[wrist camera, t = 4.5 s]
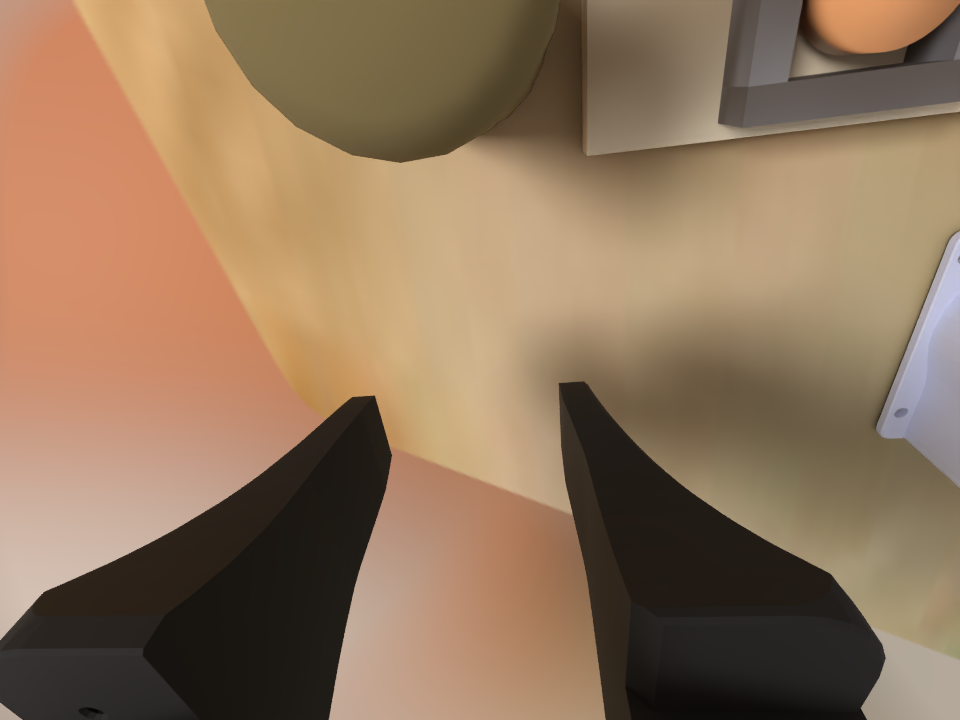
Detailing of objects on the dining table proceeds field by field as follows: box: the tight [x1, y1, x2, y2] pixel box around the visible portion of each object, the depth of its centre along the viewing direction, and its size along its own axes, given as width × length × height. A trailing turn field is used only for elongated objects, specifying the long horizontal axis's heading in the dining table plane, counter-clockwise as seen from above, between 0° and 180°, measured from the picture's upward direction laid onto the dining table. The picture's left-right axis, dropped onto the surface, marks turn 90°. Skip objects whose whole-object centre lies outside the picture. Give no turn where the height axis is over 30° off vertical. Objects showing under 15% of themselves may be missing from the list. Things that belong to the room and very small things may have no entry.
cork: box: [204, 0, 560, 163], centre depth 10 cm, size 6×6×11 cm
